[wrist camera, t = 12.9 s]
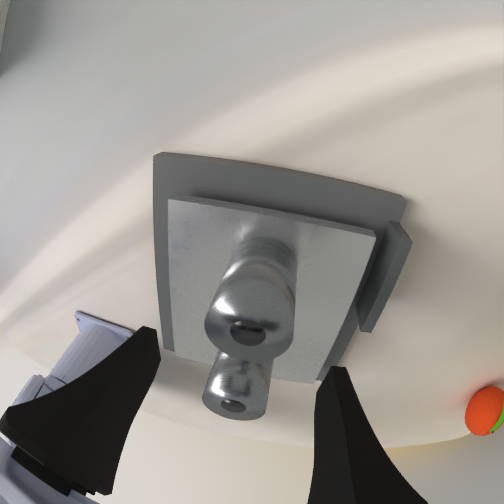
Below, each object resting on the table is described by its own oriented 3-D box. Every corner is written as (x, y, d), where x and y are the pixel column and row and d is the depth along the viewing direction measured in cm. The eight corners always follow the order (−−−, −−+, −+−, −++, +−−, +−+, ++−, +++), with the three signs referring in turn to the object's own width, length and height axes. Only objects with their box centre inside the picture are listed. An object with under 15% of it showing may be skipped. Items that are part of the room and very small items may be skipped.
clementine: (474, 378, 24) (489, 423, 18) (510, 366, 23) (527, 406, 17) (453, 410, 28) (462, 450, 22) (488, 399, 27) (499, 436, 20)
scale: (329, 372, 26) (330, 403, 22) (168, 339, 27) (154, 368, 23) (403, 196, 17) (425, 218, 13) (161, 152, 18) (132, 165, 14)
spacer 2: (271, 364, 21) (261, 425, 17) (222, 355, 22) (203, 413, 17) (279, 330, 19) (269, 397, 15) (223, 320, 20) (200, 383, 15)
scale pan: (313, 369, 24) (313, 384, 22) (181, 342, 24) (175, 355, 23) (370, 225, 16) (376, 237, 15) (179, 189, 17) (168, 198, 16)
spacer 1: (291, 297, 18) (286, 367, 13) (229, 288, 18) (205, 353, 14) (301, 241, 16) (300, 306, 11) (231, 232, 16) (202, 291, 12)
